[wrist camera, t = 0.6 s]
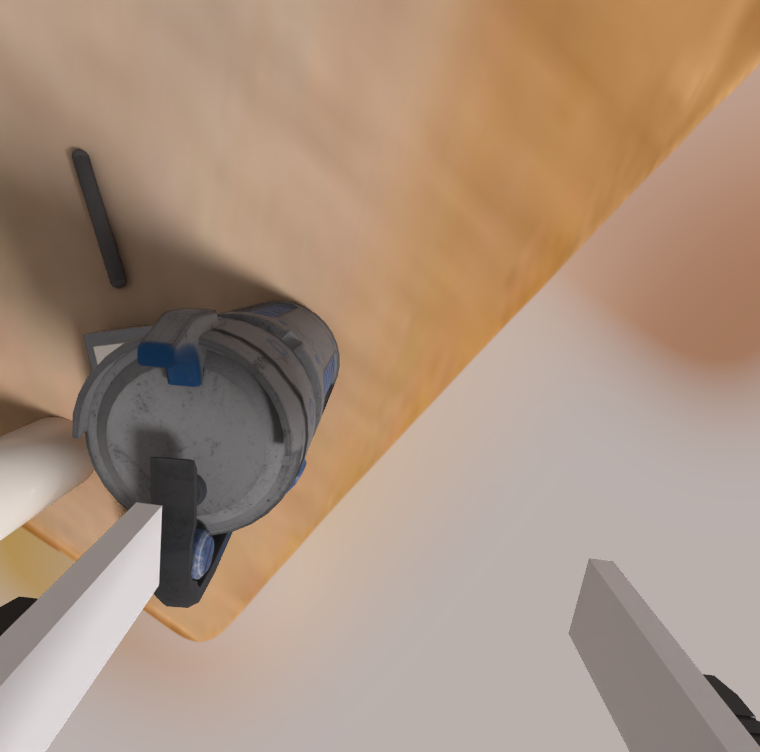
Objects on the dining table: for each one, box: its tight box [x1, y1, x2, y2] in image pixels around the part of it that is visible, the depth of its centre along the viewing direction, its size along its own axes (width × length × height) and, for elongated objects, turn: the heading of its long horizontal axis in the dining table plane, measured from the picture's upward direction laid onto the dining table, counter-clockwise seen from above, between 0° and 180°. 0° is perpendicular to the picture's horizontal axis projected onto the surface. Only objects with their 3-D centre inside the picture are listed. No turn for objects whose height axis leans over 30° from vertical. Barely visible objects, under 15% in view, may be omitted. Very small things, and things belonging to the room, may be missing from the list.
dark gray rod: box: [72, 149, 126, 288], centre depth 39 cm, size 11×1×1 cm, turn 11°
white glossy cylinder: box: [0, 417, 94, 540], centre depth 38 cm, size 7×7×14 cm
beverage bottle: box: [72, 301, 340, 608], centre depth 30 cm, size 10×13×25 cm
